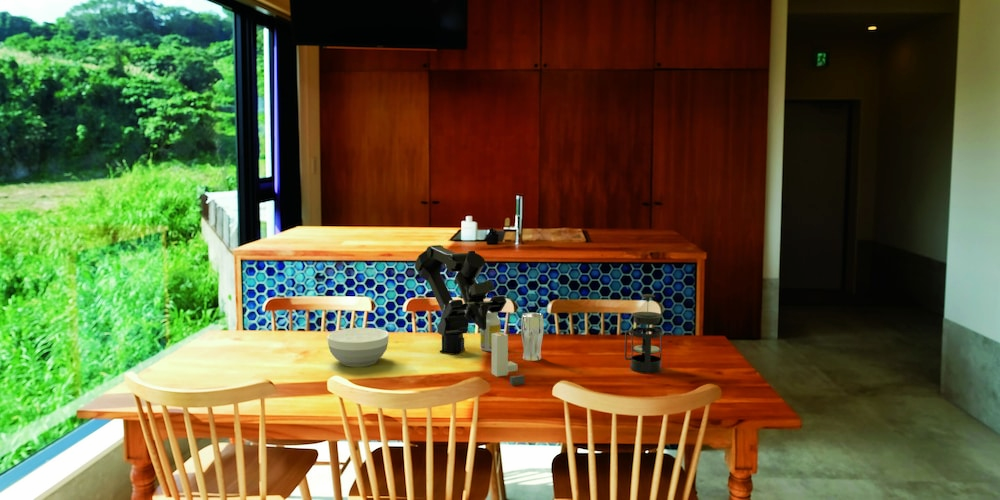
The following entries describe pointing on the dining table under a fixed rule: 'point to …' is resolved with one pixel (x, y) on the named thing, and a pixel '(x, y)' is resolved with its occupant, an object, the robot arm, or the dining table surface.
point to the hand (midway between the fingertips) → (484, 329)
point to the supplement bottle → (489, 330)
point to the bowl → (358, 345)
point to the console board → (515, 379)
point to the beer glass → (532, 335)
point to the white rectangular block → (499, 354)
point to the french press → (645, 342)
